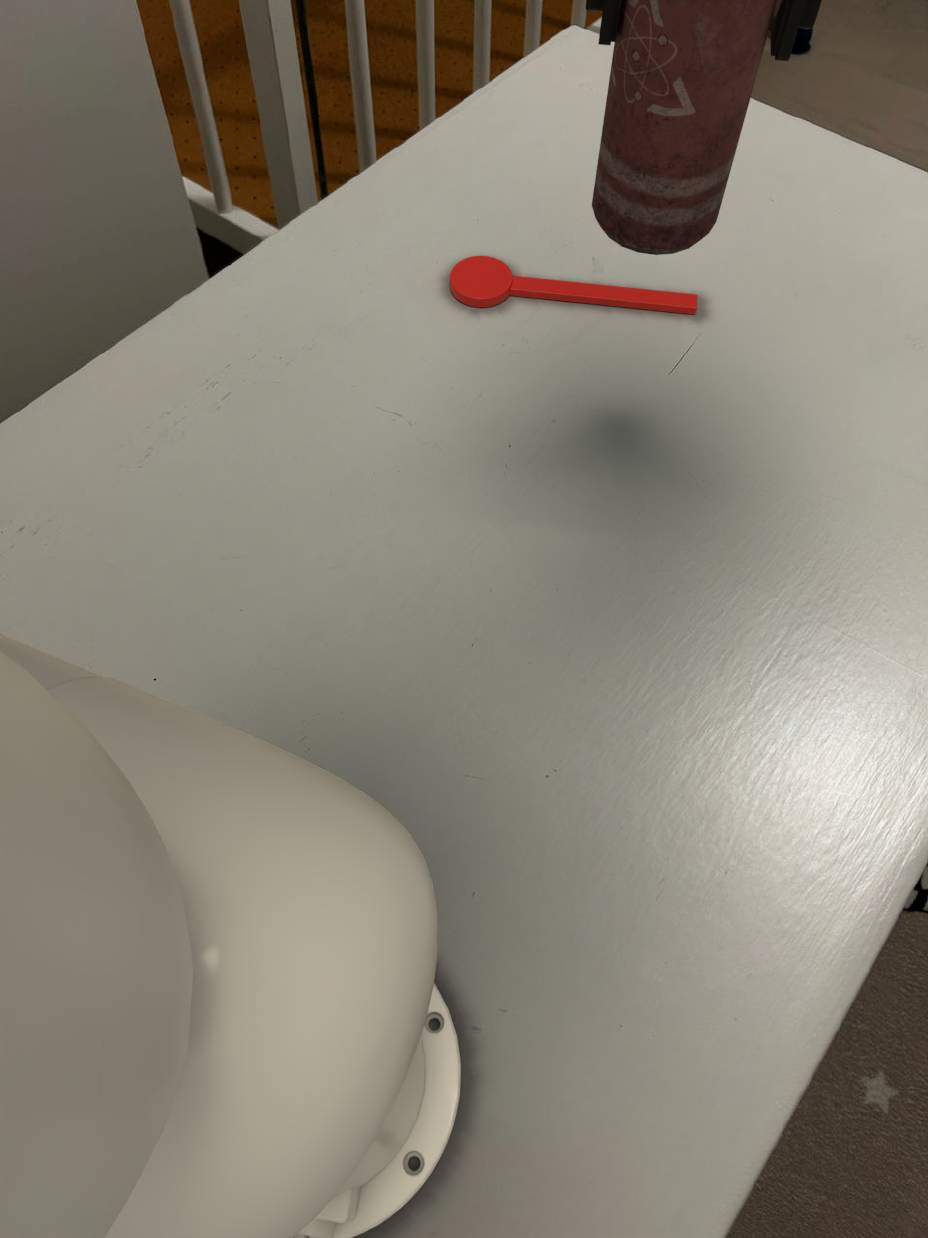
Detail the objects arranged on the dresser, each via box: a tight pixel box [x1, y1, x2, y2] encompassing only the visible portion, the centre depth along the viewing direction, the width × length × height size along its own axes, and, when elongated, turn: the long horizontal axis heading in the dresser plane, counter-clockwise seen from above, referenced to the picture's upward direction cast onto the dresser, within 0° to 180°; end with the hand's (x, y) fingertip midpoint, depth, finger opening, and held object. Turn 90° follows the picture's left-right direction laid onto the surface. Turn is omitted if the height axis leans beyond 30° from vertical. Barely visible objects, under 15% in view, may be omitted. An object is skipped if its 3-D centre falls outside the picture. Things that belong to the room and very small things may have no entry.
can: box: [591, 0, 782, 256], centre depth 42 cm, size 6×6×14 cm
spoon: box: [449, 255, 698, 315], centre depth 67 cm, size 17×4×1 cm, turn 82°
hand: (694, 30), depth 40 cm, fingers closed on can, 6 cm apart
